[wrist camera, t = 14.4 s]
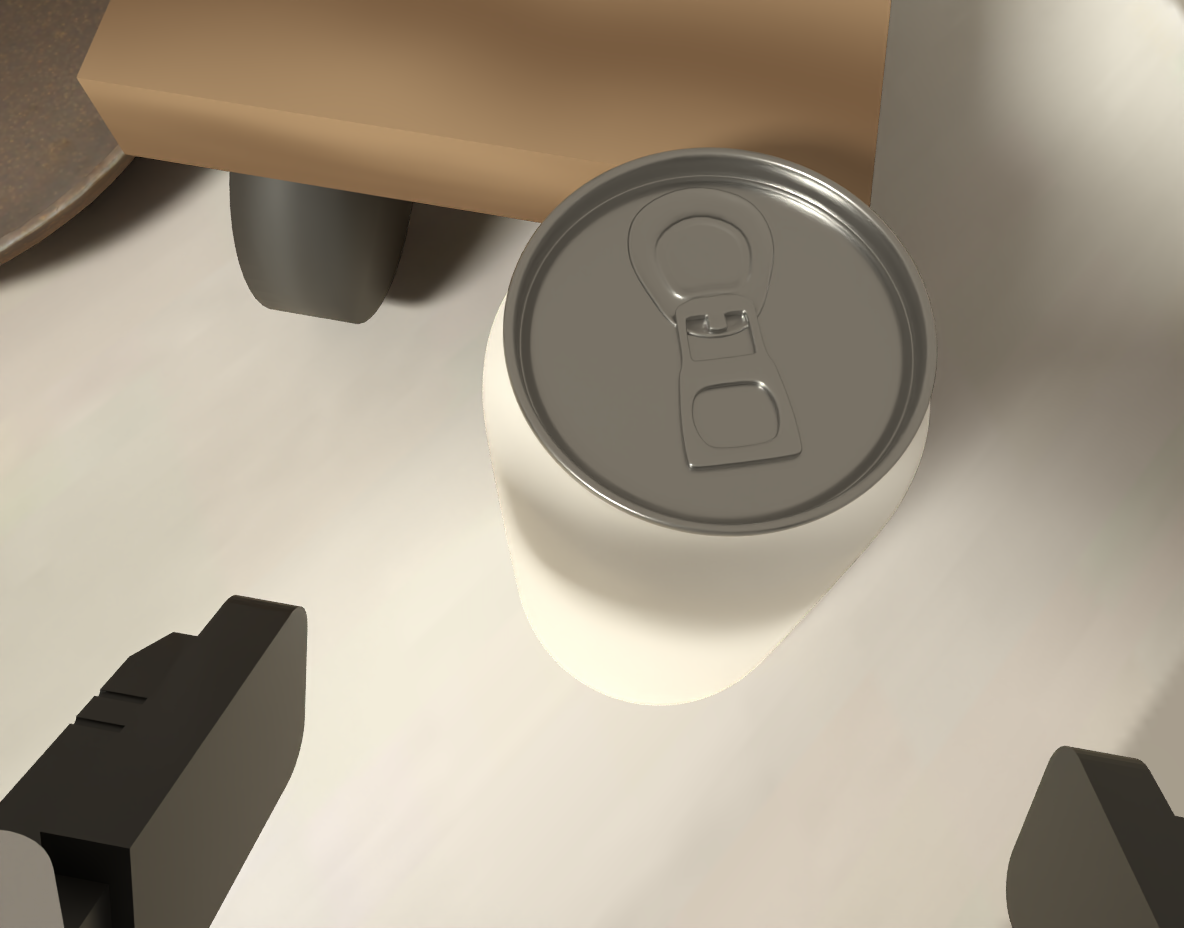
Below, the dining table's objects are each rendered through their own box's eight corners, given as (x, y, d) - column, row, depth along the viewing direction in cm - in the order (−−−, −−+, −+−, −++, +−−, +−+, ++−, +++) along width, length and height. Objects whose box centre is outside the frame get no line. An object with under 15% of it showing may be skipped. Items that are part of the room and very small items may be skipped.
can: (762, 426, 26) (903, 96, 15) (819, 688, 24) (1035, 531, 13) (502, 459, 26) (445, 145, 15) (534, 728, 23) (498, 603, 12)
